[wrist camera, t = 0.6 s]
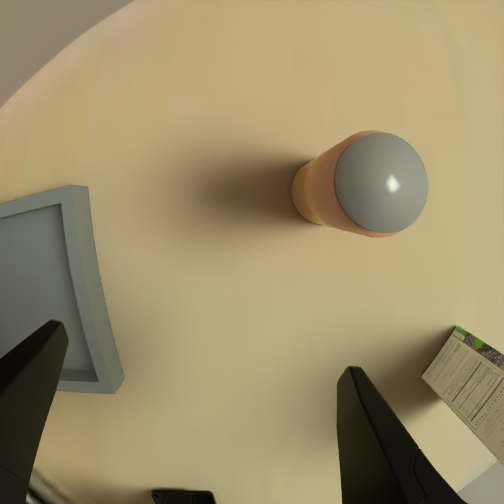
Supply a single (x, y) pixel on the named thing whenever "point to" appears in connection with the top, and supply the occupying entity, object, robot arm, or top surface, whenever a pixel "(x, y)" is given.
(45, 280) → the tray
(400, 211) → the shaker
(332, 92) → the top surface
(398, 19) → the top surface
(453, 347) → the syrup box
